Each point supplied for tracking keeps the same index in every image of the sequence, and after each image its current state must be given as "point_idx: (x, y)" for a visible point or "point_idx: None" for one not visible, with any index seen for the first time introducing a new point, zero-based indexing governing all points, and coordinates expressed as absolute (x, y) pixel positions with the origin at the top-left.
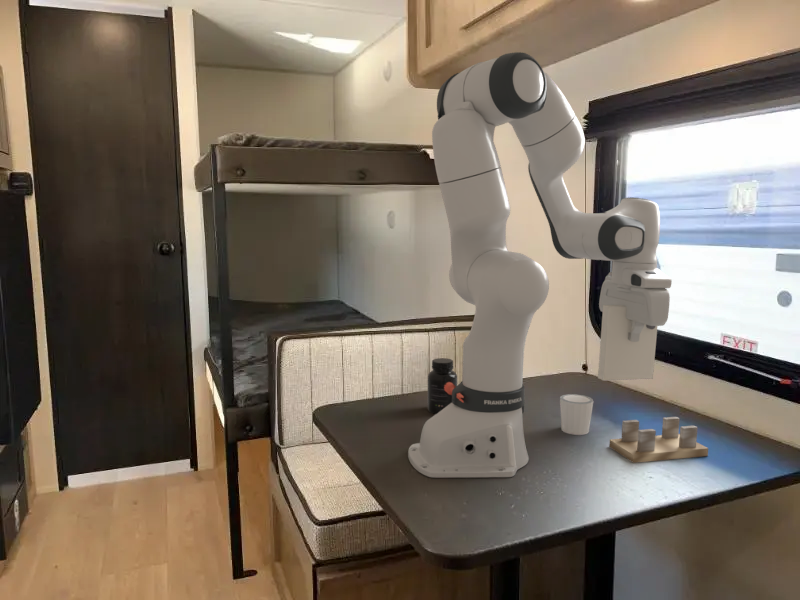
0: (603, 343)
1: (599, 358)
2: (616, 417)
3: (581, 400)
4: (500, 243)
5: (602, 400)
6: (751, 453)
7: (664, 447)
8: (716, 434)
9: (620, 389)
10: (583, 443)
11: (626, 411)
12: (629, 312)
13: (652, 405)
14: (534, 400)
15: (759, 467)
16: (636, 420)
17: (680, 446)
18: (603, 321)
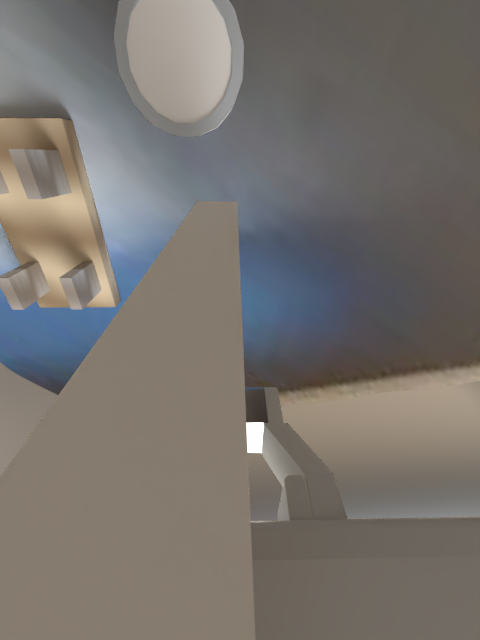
0: (199, 245)
1: (234, 218)
2: (262, 259)
3: (160, 72)
4: None
5: (369, 291)
6: (71, 363)
7: (27, 229)
8: None
9: (407, 358)
10: (92, 49)
11: (290, 299)
12: None
13: (304, 359)
14: (468, 98)
15: (12, 341)
16: (35, 196)
17: (32, 262)
18: (207, 339)
